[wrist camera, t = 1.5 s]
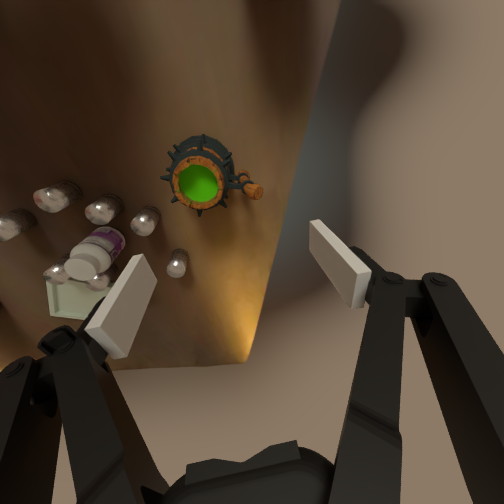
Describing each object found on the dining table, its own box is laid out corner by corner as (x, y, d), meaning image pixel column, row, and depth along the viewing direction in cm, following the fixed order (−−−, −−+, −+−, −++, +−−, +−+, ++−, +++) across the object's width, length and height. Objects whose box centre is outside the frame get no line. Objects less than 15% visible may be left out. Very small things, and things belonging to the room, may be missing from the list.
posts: (19, 257, 37) (-6, 274, 33) (2, 161, 29) (-35, 167, 25) (179, 288, 45) (175, 305, 41) (199, 220, 38) (196, 233, 33)
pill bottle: (118, 255, 39) (91, 290, 31) (88, 240, 37) (51, 273, 29) (132, 236, 38) (107, 267, 30) (101, 219, 35) (66, 248, 27)
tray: (55, 309, 44) (50, 315, 43) (51, 270, 39) (45, 276, 38) (112, 317, 47) (109, 323, 46) (115, 282, 42) (112, 287, 41)
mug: (173, 196, 35) (155, 225, 25) (169, 127, 29) (144, 129, 20) (248, 204, 37) (258, 232, 27) (256, 140, 32) (272, 148, 22)
